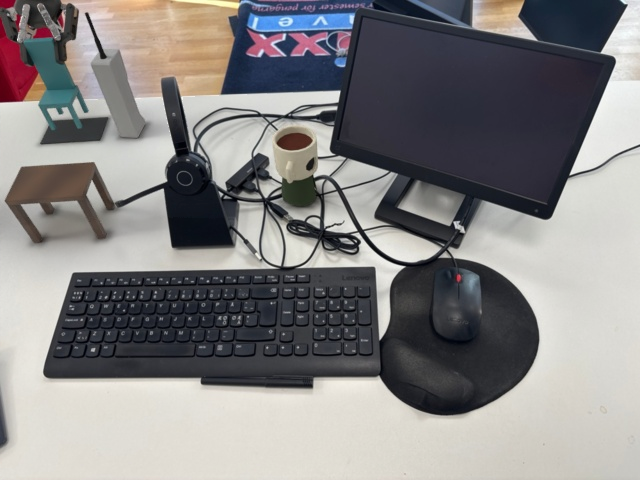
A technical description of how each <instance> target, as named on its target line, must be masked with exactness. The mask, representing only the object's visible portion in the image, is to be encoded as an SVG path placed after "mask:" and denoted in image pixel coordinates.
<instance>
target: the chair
mask: <svg viewBox="0 0 640 480" xmlns="http://www.w3.org/2000/svg"><path fill="white" fill-rule="evenodd" d="M54 42H55V39H54V37H53V36H52V37H38V38H37V37H36V38H33V39H25V40H24V42H23V43H24V45H25V47H26V49H27V51H28V53H29V55H30V57H31V59H32V61H33V63H34V66H35V69H36V71H37V73H38V74H39V76H40V79H41V80H42V82H43V84H44V86H45V88H46V89H45V90H44V92H43V94H42V95H41V98H40V100H39V102H38V104H37V106H38V108H39V110H40V111H41V113H42V115H43V117H44V119H45V121H46V123H47V125H48V126H50V128H51V130H56V126H55V124H54V122H53V118H52V115H50V113H49V111H48V109H56V112H57V114H58V115H64V110H63V108H67V110H68V112H69V114H70V117H71V119H73V120H74V122H75V124H76V126H77V128H78V129H79V128H82V124H81V122H80V120H79V119H80V117H79V115H78V114H77V111H76V110H75V107H74V105H73V104H74V102H75V100H76V99H77V100H78V103H79V105H80V107H81V109H82V112H83V114H88V113H89V112H90V111H89V110H90V109H89V108H88V105H87V104H86V101H85V99H84V96H83V95H82V93H81V90H80V88H79V85H78V84H76V83H75V82H74V81H75V80H74V79H73V77H72V75H71V73H70V70H69V69H68V66H67V63H65V64H64V65H60V64H58V63H56V61H55V52H54Z"/></svg>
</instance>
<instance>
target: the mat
mask: <svg viewBox="0 0 640 480" xmlns="http://www.w3.org/2000/svg"><path fill="white" fill-rule="evenodd" d="M108 119H109V116H103V117H101V116H100V117H86V118H85V117H83V118H79V120H80V122H81V124H82V128H79V129H78V128H77V126H76V124H75V122H74V120H73V118H71V119H70V118H69V119H55V120H53V119H52V120H53V122H54V124H55V126H56V130H51V128H50V126H49V125H48V127H47V128H46V130H45V132H44V134H43V136H42V138H41V140H40V145H52V144H66V143H67V144H68V143H81V142H82V143H83V142H97V141H101V138H102V136H103V133H104V131H105V128H106V126H107V123H108Z"/></svg>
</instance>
